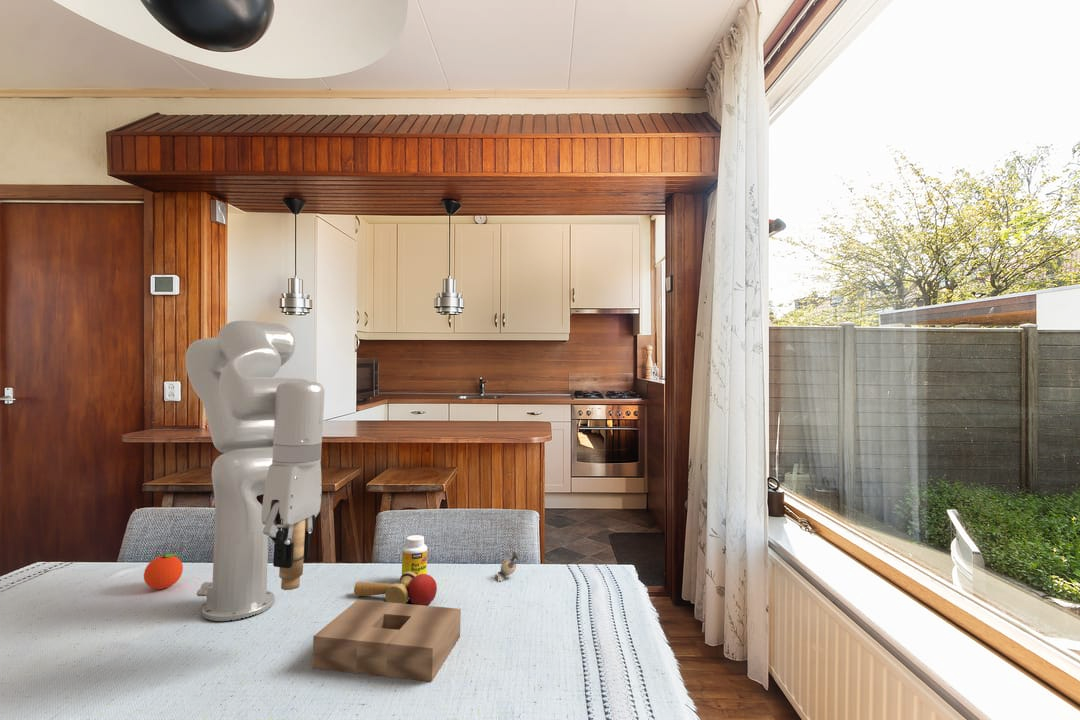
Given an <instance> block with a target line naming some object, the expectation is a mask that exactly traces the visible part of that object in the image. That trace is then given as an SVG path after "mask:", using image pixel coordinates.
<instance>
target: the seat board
mask: <svg viewBox="0 0 1080 720" xmlns="http://www.w3.org/2000/svg"><path fill="white" fill-rule="evenodd" d="M461 610H462V609H461V608H456V607H455V608H454V607H445V606H434V605H433V606H432V605H416V604H413V603H412V604H408V603H406V604H401V603H390V602H387V601H379V600H378V601H376V600H375V601H374V600H366V599H357V600H356V601H354V602H353V603H352V604H350V605H349V606H348V607H347V608H346V609H344V610H343V611H342V612H341V613H339V614H338V615H337V616H336V617H335V618H333V619H332V620H331V621H330V622H328V623H327V624H326V625H325V626H324V627H323V628H321V629H320V630H319V631H318V632H317V633H315V634H314V635H313V637H312V638H313V641H312V642H313V643H312V644H313V646H312V667H311V668H312V669H318V670H327V671H337V672H343V673H353V674H363V675H372V676H379V677H387V678H388V677H389V678H397V679H406V680H414V681H415V680H416V681H423V682H425V681H426V682H433V681H434V679H435V678H436V676H437V674H438V673H439V671H440V669H441V668H442V666H443V665H444V664H445V662H446V660H447V659H448V657H449V655H450V654H451V652H452V651H453V649H454V647H455V646H456V644H457V643H458V641H459V640H458V639H460V638H461V616H462V615H461V613H462V611H461ZM459 637H460V638H459ZM456 642H457V643H456Z"/></svg>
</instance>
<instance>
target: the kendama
mask: <svg viewBox="0 0 1080 720" xmlns="http://www.w3.org/2000/svg"><path fill="white" fill-rule="evenodd" d="M437 589H438V587H437V582H436V579H434V578H433V577H432V576H431V575H430V574H427V573H426V574H420V575H416V574H415V573H413V572H410V571H408V572H405V573H404V574H403V575H402V574H401V576H400V578H399V583H386V582H385V583H384V582H365V581H357V582H356V583H355V585H354V590H353V594H354V596H355V597H356V596H362V597H368V596H379V595H384V597H385V602H390V603H401V604H408V601H409V600H410V602H411V603H412V604H413V605H424V606H427V605H428V604H430V603H431V602H433V601H434V599H435V598H436V595H437V591H438V590H437Z"/></svg>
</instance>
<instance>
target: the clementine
mask: <svg viewBox="0 0 1080 720" xmlns="http://www.w3.org/2000/svg"><path fill="white" fill-rule="evenodd" d="M177 556H178V554H177V553H169V554H163V555H160V556H156V558H153V559H152V560H151V561H150V562H149V563H148V564H147V565H146V567H145V568H144V573H143V581H144V582H145V585H147V586H148V587H149V588H151V589H154V590H164V588H165V589H167V588H168V589H169V588H170V587H172V586H173V585H175V584H176V583H177V582H178V580H180V578H181V576H182V574H183V570H184V568H183V562H182V561H181V560H180V558H182V559H183V560H185V559H184V557H183V556H182V555H181V554H179V557H180V558H178V557H177Z"/></svg>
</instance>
